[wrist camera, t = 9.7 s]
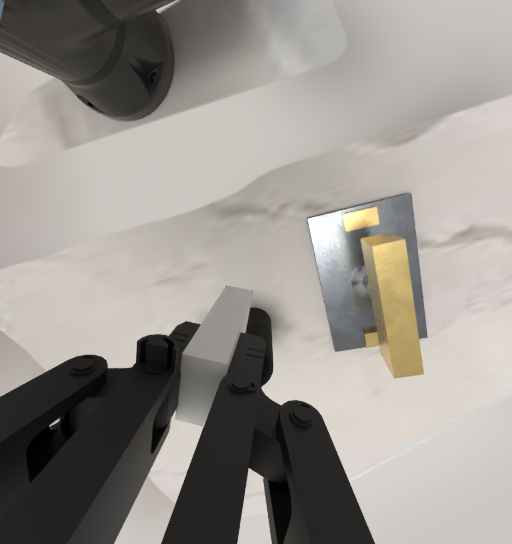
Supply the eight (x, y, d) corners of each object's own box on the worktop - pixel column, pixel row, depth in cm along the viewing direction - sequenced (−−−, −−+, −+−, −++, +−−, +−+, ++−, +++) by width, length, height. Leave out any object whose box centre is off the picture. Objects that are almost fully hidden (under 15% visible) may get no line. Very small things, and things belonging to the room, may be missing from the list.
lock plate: (307, 218, 41) (309, 222, 35) (407, 193, 38) (428, 193, 33) (334, 347, 46) (340, 370, 41) (423, 333, 44) (443, 355, 38)
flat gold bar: (377, 347, 38) (394, 378, 32) (357, 236, 35) (372, 246, 28) (401, 343, 38) (423, 374, 32) (383, 230, 34) (405, 239, 28)
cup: (277, 302, 45) (272, 339, 34) (278, 343, 47) (273, 392, 36) (230, 301, 46) (211, 338, 35) (233, 342, 48) (216, 389, 37)
